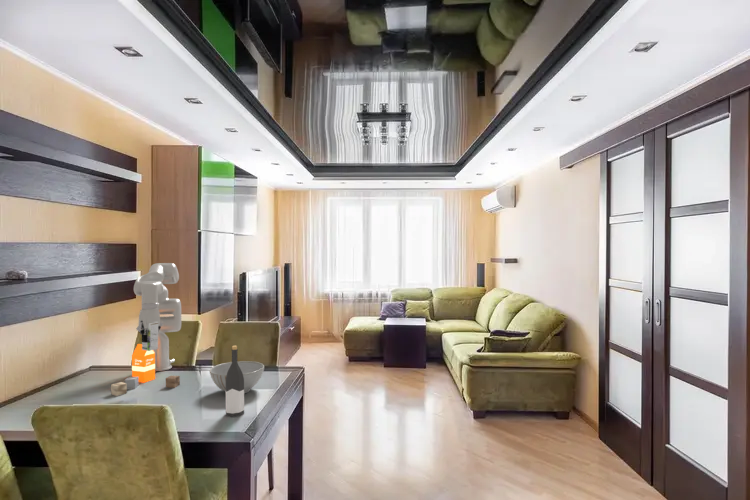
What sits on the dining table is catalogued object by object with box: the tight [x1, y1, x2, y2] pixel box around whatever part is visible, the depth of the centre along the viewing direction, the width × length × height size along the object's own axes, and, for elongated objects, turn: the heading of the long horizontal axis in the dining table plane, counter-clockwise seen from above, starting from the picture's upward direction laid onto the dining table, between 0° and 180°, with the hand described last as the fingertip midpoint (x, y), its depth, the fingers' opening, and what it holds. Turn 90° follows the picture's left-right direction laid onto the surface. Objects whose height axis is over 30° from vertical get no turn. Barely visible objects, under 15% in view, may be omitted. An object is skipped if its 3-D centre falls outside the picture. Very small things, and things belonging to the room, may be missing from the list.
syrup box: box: [141, 322, 158, 351], centre depth 233 cm, size 6×6×14 cm
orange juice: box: [131, 343, 156, 384], centre depth 249 cm, size 8×9×20 cm
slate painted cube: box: [124, 376, 140, 390], centre depth 236 cm, size 5×5×5 cm
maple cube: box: [110, 381, 128, 397], centre depth 226 cm, size 5×5×5 cm
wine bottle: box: [225, 345, 245, 418], centre depth 198 cm, size 8×8×30 cm
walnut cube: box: [165, 375, 181, 389], centre depth 238 cm, size 5×5×5 cm
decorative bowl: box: [209, 360, 265, 395], centre depth 229 cm, size 27×27×12 cm
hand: (150, 340), depth 233 cm, fingers closed on syrup box, 6 cm apart
